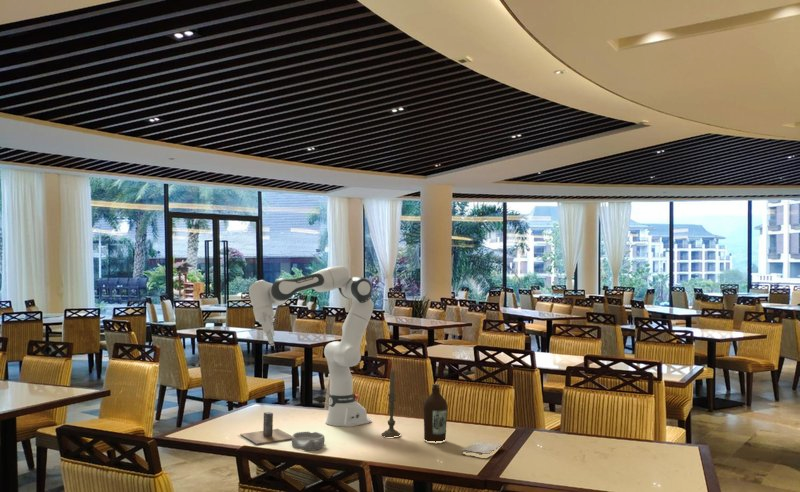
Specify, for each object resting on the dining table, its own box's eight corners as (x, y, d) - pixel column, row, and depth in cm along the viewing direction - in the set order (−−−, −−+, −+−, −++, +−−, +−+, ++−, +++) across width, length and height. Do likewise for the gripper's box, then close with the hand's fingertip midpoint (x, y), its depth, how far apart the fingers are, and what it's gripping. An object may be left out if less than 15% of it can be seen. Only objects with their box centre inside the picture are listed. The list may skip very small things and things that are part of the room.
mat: (279, 431, 303) (279, 429, 303) (298, 441, 287) (298, 439, 287) (237, 436, 292) (237, 435, 292) (255, 447, 275) (255, 446, 275)
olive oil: (418, 439, 293) (419, 383, 294) (439, 437, 298) (440, 381, 299) (430, 445, 284) (431, 387, 284) (451, 443, 288) (452, 385, 289)
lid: (277, 430, 302) (278, 406, 302) (295, 439, 287) (296, 414, 287) (240, 435, 291) (241, 411, 292) (256, 445, 277) (257, 419, 277)
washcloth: (460, 456, 271) (460, 448, 271) (477, 446, 287) (477, 438, 287) (487, 460, 265) (487, 453, 265) (502, 450, 281) (503, 443, 281)
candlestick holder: (402, 433, 303) (403, 368, 304) (400, 438, 294) (401, 371, 295) (382, 432, 304) (383, 367, 305) (379, 437, 295) (381, 370, 296)
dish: (322, 451, 272) (322, 439, 272) (288, 451, 272) (288, 438, 272) (326, 442, 286) (326, 430, 287) (294, 441, 287) (295, 430, 287)
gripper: (269, 309, 293) (277, 339, 290) (272, 316, 312) (280, 344, 309) (255, 313, 291) (263, 343, 288) (259, 320, 311) (266, 348, 308)
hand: (271, 344), depth 299 cm, fingers open, 8 cm apart
